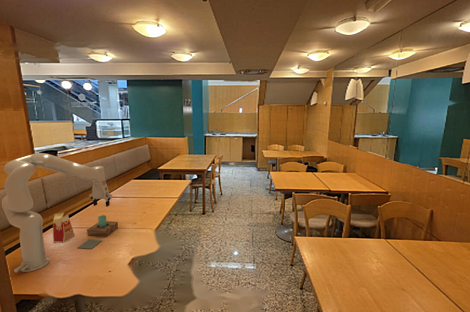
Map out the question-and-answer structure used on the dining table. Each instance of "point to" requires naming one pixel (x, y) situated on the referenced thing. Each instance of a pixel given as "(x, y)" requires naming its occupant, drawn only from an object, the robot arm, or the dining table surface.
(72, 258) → the dining table surface
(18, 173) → the robot arm
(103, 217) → the peg
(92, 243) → the mat
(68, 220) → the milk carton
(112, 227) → the pocket block
